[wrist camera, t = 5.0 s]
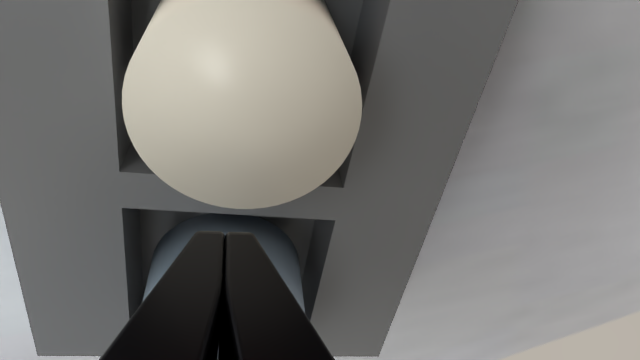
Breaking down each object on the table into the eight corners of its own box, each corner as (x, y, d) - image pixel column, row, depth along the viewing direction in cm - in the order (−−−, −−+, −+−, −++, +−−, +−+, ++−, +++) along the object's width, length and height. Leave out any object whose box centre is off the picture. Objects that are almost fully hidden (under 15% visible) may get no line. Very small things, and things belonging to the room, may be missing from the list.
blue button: (288, 316, 15) (298, 429, 12) (152, 314, 14) (129, 433, 11) (309, 216, 13) (327, 325, 10) (149, 207, 12) (120, 323, 9)
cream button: (317, 129, 13) (337, 214, 10) (156, 113, 12) (127, 202, 9) (349, -35, 10) (387, 16, 8) (153, -67, 10) (114, -24, 7)
